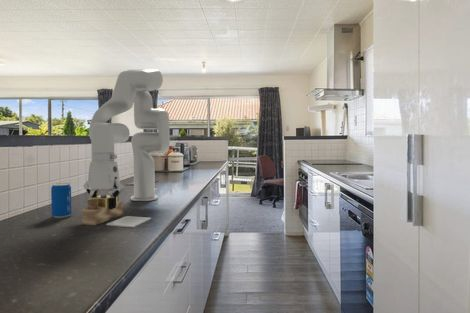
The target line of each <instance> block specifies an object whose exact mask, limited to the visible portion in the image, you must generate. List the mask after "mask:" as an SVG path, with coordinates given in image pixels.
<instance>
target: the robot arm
mask: <svg viewBox="0 0 470 313" xmlns="http://www.w3.org/2000/svg"><path fill="white" fill-rule="evenodd" d="M115 82H116V83H115V86H114V88H113V90H112V91H113V92H112V94H111V98H110V99H109V100H107V101H106V102H105V103H103V104H102V105H101V106H100V107H99V108H97V110H95V112H94V113H93V116H92V118H91V121H90V123H89V128H88V137H89V139H90V140H91V141H90V142H91V143H90V144H91V145H90V146H91V149H90V150H91V161H90V162H89V168H88V175H87V181H86V182H85V183H84V184H83V186H82V187H83V188H84V190H85V191H86V193H88V196H89V198H91V197H95V196H98V194H99V193H98V192H99V191H107V192H108V195H110V197H111V198H109V209H114V208H116V197H117V196H118V197H119V195H120V194H121V192H122V191H123V190H124V189H125V186H124V185H123V184H122V183H121V182H120V172H119V167H118V162H117V161H115V160H116V159H117V158H118V156H117V154H115V144H124V143H126V142H127V141H129V138H130V134H131V133H130V128H129V127H128V126H127V125H126V124H124V123H121V122H120V123H119V122H112V123H111V122H108V121H109V120H110V119H112V118H113V117H116V116H118V115H121V114H122V113H125V112H127V111H129V110H131V109H132V108H133V117H134V118H133V120H134V122H133V123H134V126H135V127H136V129H141V130H157V132H154V131H153V132H151V131H140V132H136V133H134V134H133V135H132V137H131V142H130V143H131V148H132V155H133V156H132V157H133V195H132V196H130V200H131V201H135V202H150V201H155V200H158V199H159V195H157V194H156V193H157V192H158V190H159V189H158V188H155V187H156V186H155V185H156V178H155V176H156V175H155V172H156V170H155V168H156V167H155V164H156V163H155V159H154V158H153V156H152V155H151V153H159V154H161V153H162V154H163V153H166V152H168V151H169V149H170V145H171V143H170V140H171V139H170V138H171V136H170V131H171V130H170V117H169V113H168V112H167V110H166V109H164V108H154V105H153V101H154V100H153V97H152V95H151V93H150V92H153V91H156V90H158V89H159V90H160V88H161V87H162V85H163V82H164V80H163V74H162V72H161V71H160V70H158V69H156V68H155V69H154V68H153V69H144V68H143V69H141V68H137V69H127V70H124V71H121V72H120V73H118V76H117V78H116V81H115Z"/></svg>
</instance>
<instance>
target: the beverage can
mask: <svg viewBox="0 0 470 313" xmlns="http://www.w3.org/2000/svg"><path fill="white" fill-rule="evenodd" d="M50 196H51V197H50V198H51V201H50V202H51V217H53V218H54V219H65V218H69V217H70V216H71V215H72V212H73V211H72V186H71V184H70V183H69V182H68V183H67V182H59V183H53V184H52V186H51V187H50Z"/></svg>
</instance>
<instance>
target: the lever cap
mask: <svg viewBox="0 0 470 313" xmlns="http://www.w3.org/2000/svg"><path fill="white" fill-rule="evenodd" d="M109 198H111V197H110V195H109V194H100V195H97V196H95V197H89V198H88V200H89V199H97V207H102V208H106V207H109ZM116 204H118V200H117V197H116Z"/></svg>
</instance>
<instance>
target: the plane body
mask: <svg viewBox="0 0 470 313" xmlns="http://www.w3.org/2000/svg"><path fill="white" fill-rule="evenodd" d="M117 200H118V204H116V208H114V209H109V207H106V208H102V207H97V199H89V198H88V199H87V207H86V208H82V209H81V211H82V212H81V215H82V222H81V223H82V225H90V226H97V225H99V224H102V223H105V222H107V221H110V220H113V219H115V218H118V217H120V216H123V215H124V203H123V202H124V201H122V200H121V201H120V200H119V195H118V196H117Z"/></svg>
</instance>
